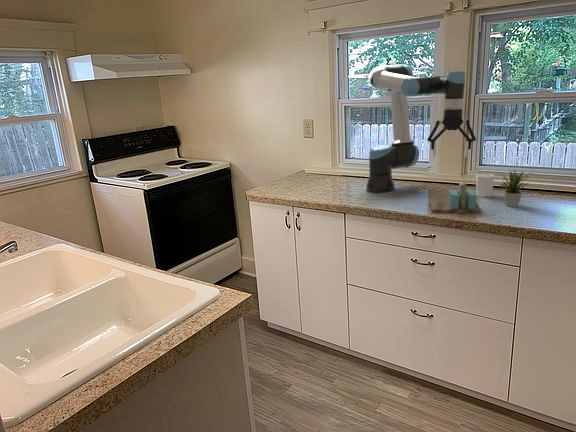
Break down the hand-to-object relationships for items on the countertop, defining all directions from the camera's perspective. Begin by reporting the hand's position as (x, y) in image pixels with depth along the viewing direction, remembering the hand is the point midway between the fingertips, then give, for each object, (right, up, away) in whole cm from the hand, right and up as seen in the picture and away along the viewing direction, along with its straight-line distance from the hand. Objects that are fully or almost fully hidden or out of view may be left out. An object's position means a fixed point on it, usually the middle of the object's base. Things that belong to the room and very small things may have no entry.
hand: (450, 156), depth 196 cm
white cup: (+23, -17, +16) cm, 33 cm away
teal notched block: (+4, -22, -3) cm, 23 cm away
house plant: (+28, -22, -3) cm, 36 cm away
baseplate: (+1, -24, -2) cm, 24 cm away
